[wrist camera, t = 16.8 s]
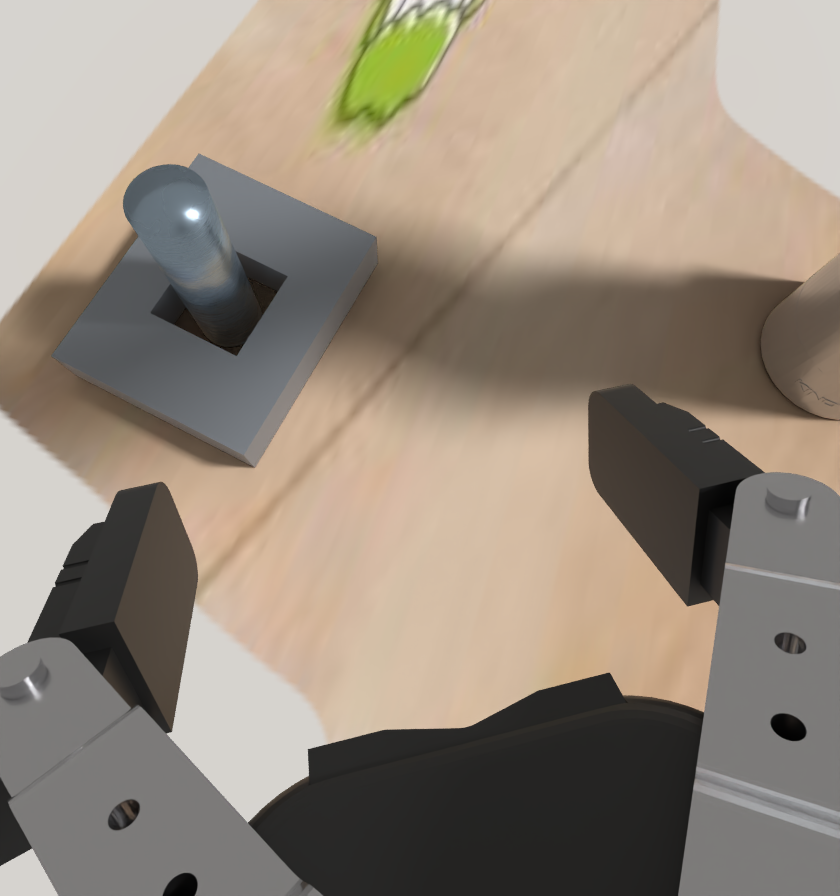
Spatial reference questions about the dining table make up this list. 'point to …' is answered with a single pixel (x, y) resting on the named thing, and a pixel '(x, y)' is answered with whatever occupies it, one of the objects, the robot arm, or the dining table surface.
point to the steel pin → (193, 251)
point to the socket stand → (269, 345)
